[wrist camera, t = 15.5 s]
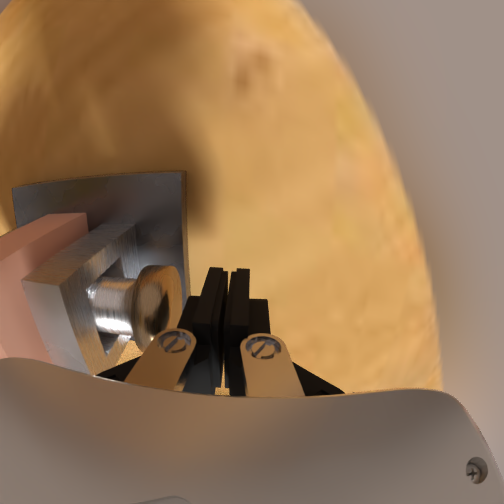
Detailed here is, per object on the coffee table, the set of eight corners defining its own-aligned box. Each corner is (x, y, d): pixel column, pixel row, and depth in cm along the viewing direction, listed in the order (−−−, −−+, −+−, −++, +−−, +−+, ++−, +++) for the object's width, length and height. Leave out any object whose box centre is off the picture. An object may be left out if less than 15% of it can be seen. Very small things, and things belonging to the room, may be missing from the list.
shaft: (42, 302, 13) (9, 335, 9) (27, 246, 11) (-14, 272, 8) (184, 321, 13) (167, 374, 9) (178, 252, 11) (151, 294, 8)
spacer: (69, 309, 15) (2, 390, 7) (48, 214, 12) (-54, 271, 5) (105, 315, 15) (41, 410, 7) (86, 212, 12) (-26, 279, 5)
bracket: (49, 315, 16) (-4, 377, 9) (21, 185, 13) (-63, 217, 6) (194, 337, 16) (169, 437, 9) (186, 170, 13) (114, 200, 6)
